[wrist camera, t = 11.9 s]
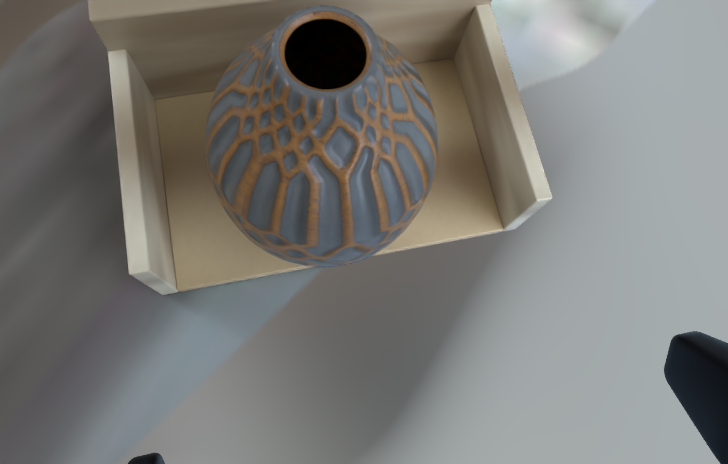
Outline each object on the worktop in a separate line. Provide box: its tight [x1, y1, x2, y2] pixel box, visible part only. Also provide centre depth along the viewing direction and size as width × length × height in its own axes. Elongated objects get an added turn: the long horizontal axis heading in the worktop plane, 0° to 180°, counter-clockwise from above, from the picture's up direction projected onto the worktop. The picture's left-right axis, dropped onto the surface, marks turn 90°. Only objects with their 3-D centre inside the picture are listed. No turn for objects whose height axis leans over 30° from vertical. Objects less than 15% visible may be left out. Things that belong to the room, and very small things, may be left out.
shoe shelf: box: [88, 0, 552, 295], centre depth 18 cm, size 8×13×5 cm, turn 102°
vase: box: [205, 5, 438, 267], centre depth 16 cm, size 7×7×9 cm
